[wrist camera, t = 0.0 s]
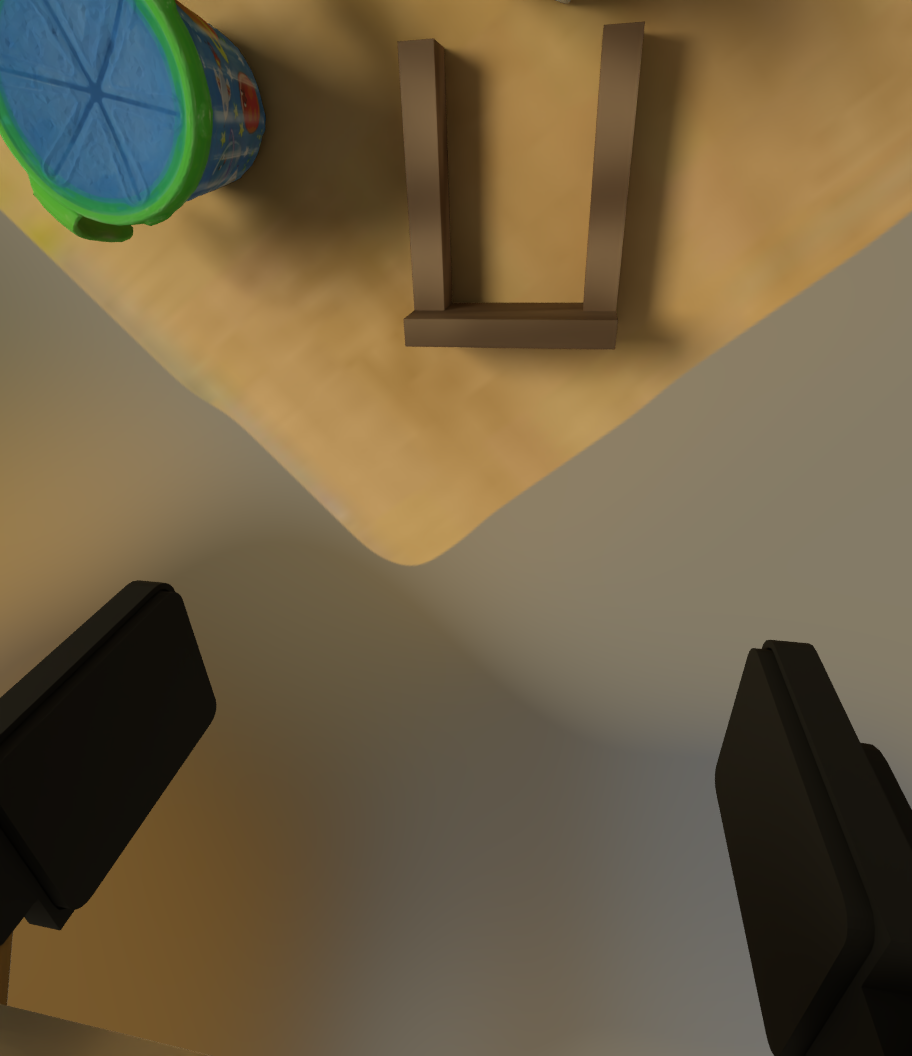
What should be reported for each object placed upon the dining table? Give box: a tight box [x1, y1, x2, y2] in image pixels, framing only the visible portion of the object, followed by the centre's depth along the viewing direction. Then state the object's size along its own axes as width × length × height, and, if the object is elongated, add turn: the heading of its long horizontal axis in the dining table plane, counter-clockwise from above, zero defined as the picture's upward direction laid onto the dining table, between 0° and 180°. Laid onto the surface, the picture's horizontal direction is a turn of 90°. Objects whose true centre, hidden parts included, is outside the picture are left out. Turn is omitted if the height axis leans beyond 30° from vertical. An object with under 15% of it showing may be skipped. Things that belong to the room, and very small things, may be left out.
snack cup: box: [0, 0, 266, 242], centre depth 30 cm, size 16×10×10 cm
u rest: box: [397, 22, 645, 349], centre depth 31 cm, size 14×12×5 cm
